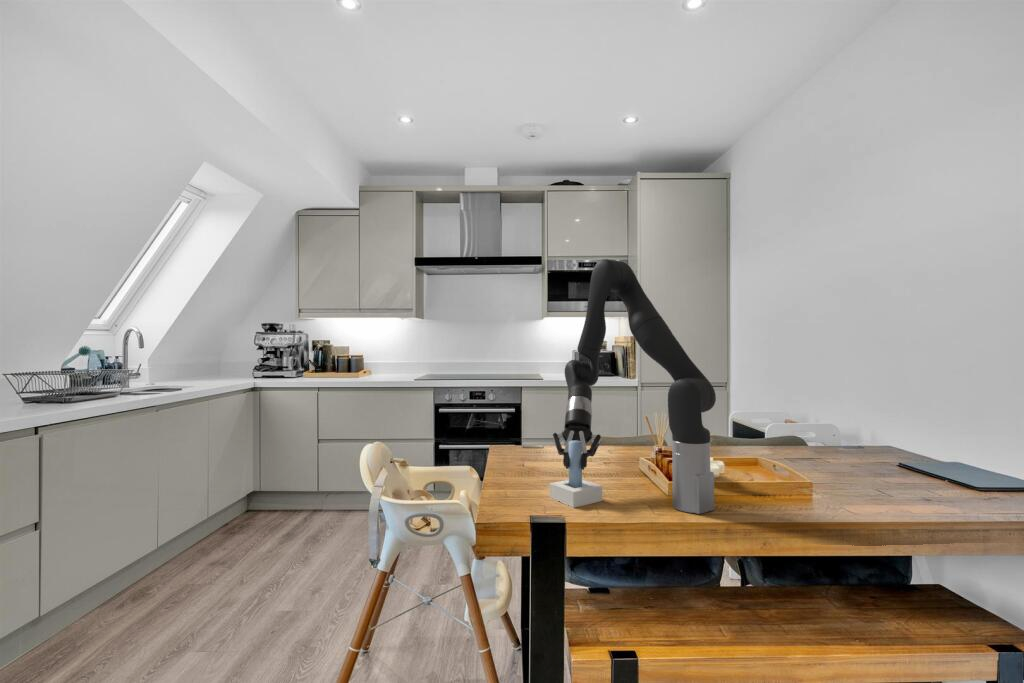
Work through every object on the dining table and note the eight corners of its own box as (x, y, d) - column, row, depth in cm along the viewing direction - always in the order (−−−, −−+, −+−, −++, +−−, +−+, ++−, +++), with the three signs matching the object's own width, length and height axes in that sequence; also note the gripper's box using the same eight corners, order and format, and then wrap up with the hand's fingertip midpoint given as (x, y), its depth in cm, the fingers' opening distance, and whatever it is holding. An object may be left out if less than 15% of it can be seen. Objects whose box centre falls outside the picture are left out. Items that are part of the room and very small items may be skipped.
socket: (602, 500, 140) (602, 486, 140) (573, 507, 134) (573, 492, 134) (578, 491, 148) (578, 477, 148) (550, 497, 143) (549, 483, 143)
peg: (584, 486, 141) (584, 442, 141) (574, 488, 139) (574, 443, 139) (576, 483, 144) (576, 439, 144) (566, 485, 142) (565, 441, 142)
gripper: (553, 407, 150) (547, 458, 138) (602, 408, 147) (601, 461, 135) (555, 422, 155) (549, 473, 144) (603, 423, 152) (602, 476, 141)
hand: (574, 467), depth 140 cm, fingers closed on peg, 3 cm apart
